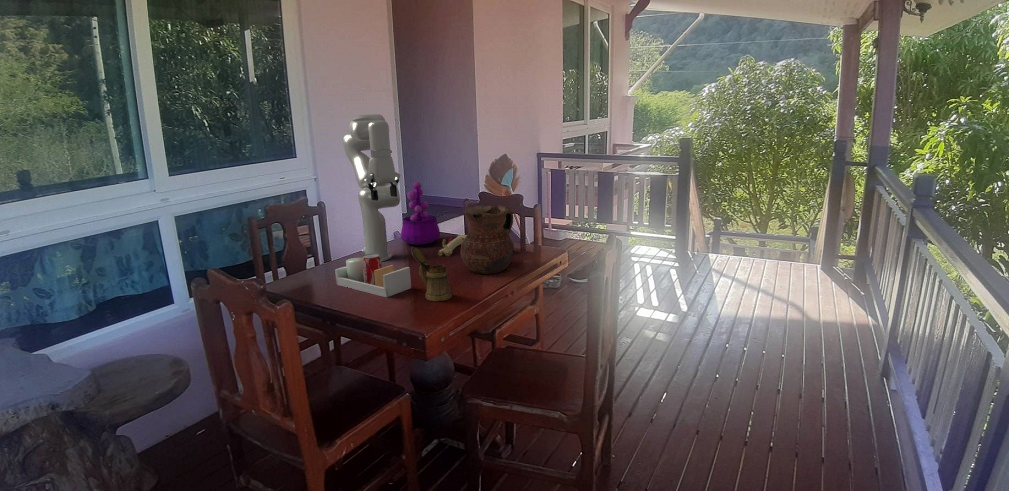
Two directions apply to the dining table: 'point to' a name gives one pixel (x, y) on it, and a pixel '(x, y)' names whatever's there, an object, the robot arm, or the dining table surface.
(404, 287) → the pusher lane
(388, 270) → the plate
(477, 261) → the jug
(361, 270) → the sage jar
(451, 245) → the cream bone
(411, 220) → the decorative plant
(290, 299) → the dining table surface
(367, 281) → the soda can
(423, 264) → the wooden mug
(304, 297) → the dining table surface
